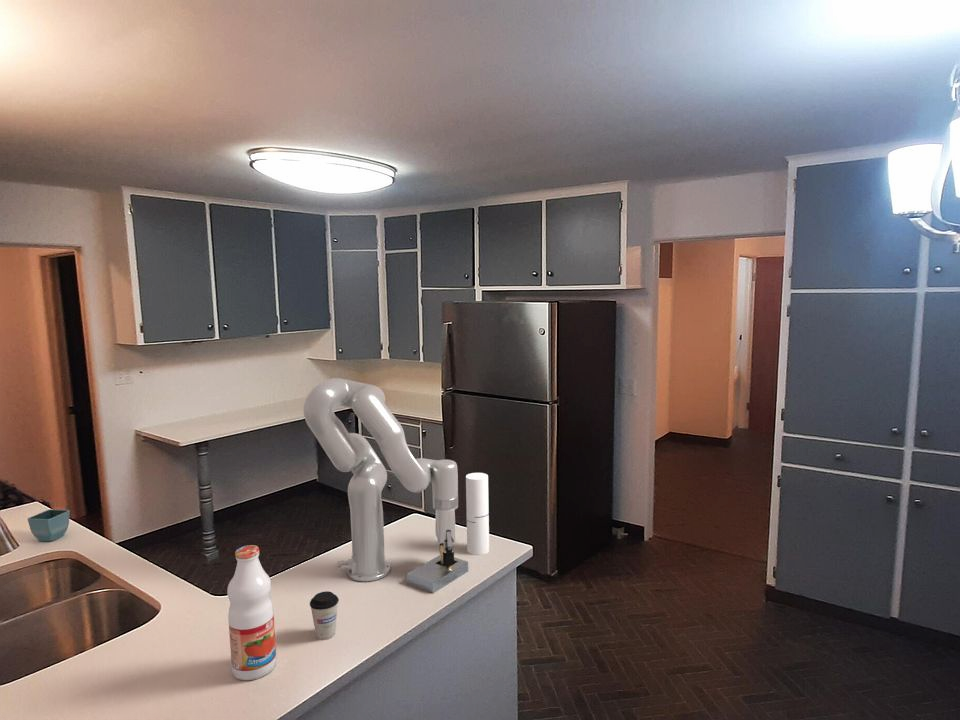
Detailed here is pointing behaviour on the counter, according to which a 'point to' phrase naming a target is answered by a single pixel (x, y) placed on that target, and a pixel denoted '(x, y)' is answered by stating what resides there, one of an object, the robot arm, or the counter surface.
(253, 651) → the fruit juice
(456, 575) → the jig plate
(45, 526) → the flower pot
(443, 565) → the tan cylindrical peg
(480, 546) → the cylindrical container
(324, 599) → the coffee cup
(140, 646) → the counter surface
